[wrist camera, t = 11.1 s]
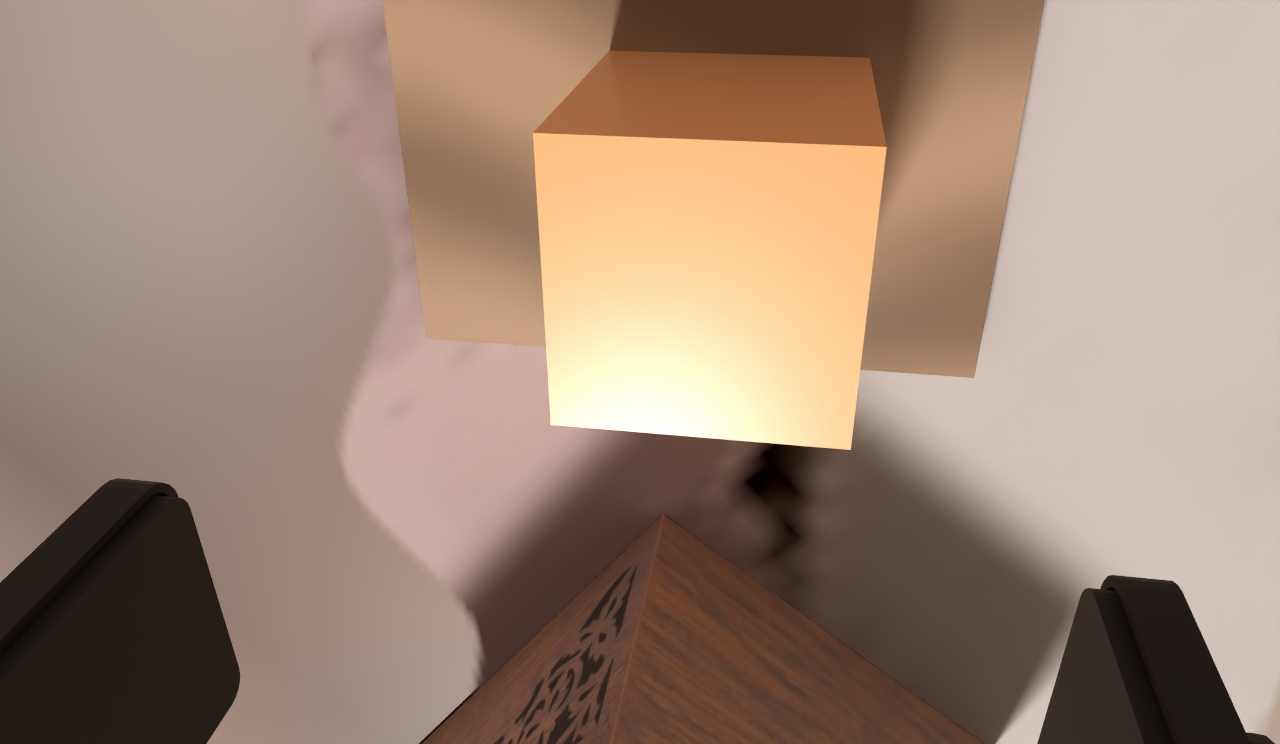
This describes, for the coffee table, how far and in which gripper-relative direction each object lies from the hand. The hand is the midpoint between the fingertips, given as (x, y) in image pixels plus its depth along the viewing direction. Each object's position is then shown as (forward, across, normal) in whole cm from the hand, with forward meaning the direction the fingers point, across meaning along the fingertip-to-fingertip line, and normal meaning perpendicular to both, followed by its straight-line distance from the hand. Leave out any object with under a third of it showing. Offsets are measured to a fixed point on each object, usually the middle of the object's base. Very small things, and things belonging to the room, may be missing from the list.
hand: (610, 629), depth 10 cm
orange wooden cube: (+16, 0, 0) cm, 16 cm away
